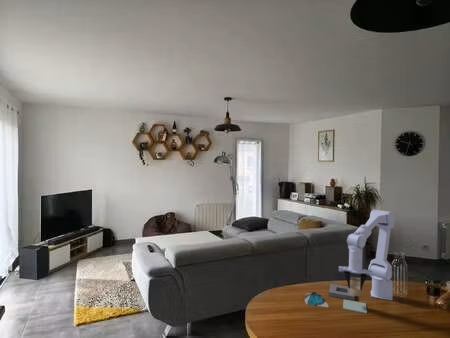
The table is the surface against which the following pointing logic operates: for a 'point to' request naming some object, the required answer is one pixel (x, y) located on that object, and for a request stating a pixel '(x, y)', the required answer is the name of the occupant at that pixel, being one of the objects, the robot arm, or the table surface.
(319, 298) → the decorative butterfly
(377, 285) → the robot arm
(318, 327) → the table surface
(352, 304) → the rubber mat
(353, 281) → the maple block
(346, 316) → the table surface
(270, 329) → the table surface
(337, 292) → the pocket holder
